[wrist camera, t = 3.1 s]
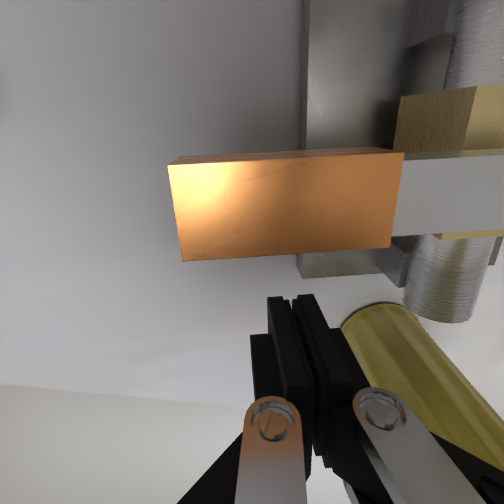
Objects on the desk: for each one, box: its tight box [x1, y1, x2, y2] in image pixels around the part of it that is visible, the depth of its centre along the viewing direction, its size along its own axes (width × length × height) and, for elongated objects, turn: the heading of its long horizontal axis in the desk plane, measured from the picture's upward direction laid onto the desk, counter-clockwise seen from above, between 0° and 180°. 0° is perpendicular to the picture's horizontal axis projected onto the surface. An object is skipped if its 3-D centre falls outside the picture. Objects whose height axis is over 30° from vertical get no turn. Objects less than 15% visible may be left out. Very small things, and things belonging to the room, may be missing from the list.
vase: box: [341, 303, 504, 472], centre depth 15 cm, size 6×6×14 cm
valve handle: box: [168, 146, 504, 261], centre depth 8 cm, size 12×2×2 cm, turn 93°
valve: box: [297, 0, 504, 323], centre depth 13 cm, size 14×12×9 cm
